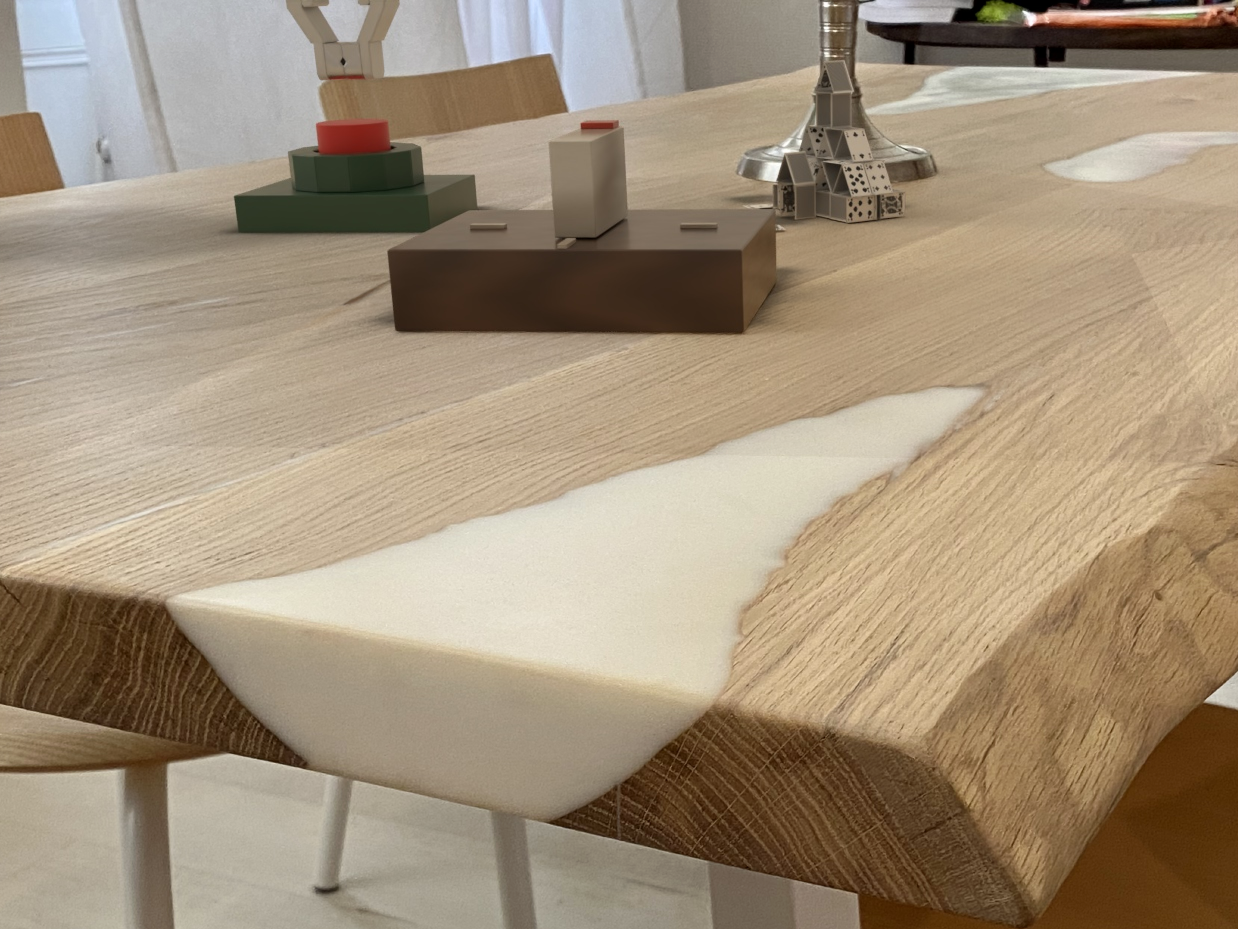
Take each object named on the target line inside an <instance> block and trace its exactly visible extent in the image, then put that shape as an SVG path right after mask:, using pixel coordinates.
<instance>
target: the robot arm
mask: <svg viewBox="0 0 1238 929" xmlns="http://www.w3.org/2000/svg"><path fill="white" fill-rule="evenodd" d="M285 4H286V9H287V11H288V12H289V13H290V15H291V16H292V18H293V20H294V21H295V22H296V24H297V25H298V26H299V29H300V30H301V31H302V33H303V34H304V35H305V37H306V38H307V40H308V42H309V43H310V44H312V45H313V51H314V60H315V67H316V68H315V70H316V75H317V78H318V79H319V80H320V81H347V80H379V79H383V78H384V75H385V63H384V52H383V42H382V41H385V40H386V36H387V34H388V32H389V29H390V28H391V25H392V23H393V20H394V18H395V16H396V14H397V12H398V10H399V7H400V0H357V4H358V5H359V6H369V7H368V10H367V13H366V15H365V18H364V20H363V23H362V26H361V29H360V31H359V34H358V36H357V38H356V41H340V40H339V38H338V37H337V35H336V33H335V32H334V30H333V28H332V27H331V25H330V24H329V22H328V20H327V19H326V17H325V15H324V13H323V12H322V10H321V9H320V7H328V6H329V5H330V0H285Z"/></svg>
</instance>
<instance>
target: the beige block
mask: <svg viewBox="0 0 1238 929" xmlns="http://www.w3.org/2000/svg"><path fill="white" fill-rule="evenodd" d="M579 124H580V128H578V129H576V130H572V131H570V132H568V133H565V134H563V135H561V136H557V137H556V138H553V139H551V140H549V141H548V155H549V156H548V157H549V167H550V168H549V173H550V186H551V202H552V210H553V219H554V235H555V237H556V238H596V237H598V236H599V235H600V234H602V233H603V232H605V231H606V230H608V229H609V228H611V227H612V226H614V225H615V224H616V223H618V222H619V221H621V220H622V219H624V218H625V217H627V216H628V210H629V209H628V188H627V168H626V146H625V145H626V144H625V127H624V126H623V125H620V121H619V119H616V120H615V119H605V120H604V119H603V120H601V119H600V120H598V119H597V120H584V121H582V122H580V123H579Z"/></svg>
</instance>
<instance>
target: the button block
mask: <svg viewBox="0 0 1238 929" xmlns="http://www.w3.org/2000/svg"><path fill="white" fill-rule="evenodd" d="M390 146H391V150H384V151H376V152H363V153H319V149H318V145H311V146H304V147H303V146H302V147H299V148H296V149H292V150H288V151H287V156H288V165H289V174H290V177H289V178H285V179H282V180H279V181H276V182H272V183H270V184H267V185H264V186H263V185H262V186H260V187H257V188H253V189H249V190H247V191H244V192H240V193H238V194H234V196H233V200H234V208H235V217H236V223H237V231H238V234H256V233H257V234H274V233H275V234H294V233H295V234H307V233H308V234H311V233H312V234H315V233H317V234H318V233H319V234H328V233H329V234H330V233H332V234H334V233H335V234H337V233H340V234H341V233H342V234H347V233H348V234H349V233H350V234H351V233H353V234H354V233H355V234H357V233H365V234H370V233H371V234H372V233H374V234H375V233H377V234H378V233H380V234H381V233H382V234H383V233H389V234H392V233H394V234H395V233H396V234H397V233H406V234H407V233H424V232H426V231H428V230H430V229H432V228H434V227H436V226H438V225H440V224H442V223H444V222H446V221H448V220H450V219H452V218H454V217H456V216H458V215H461V214H463V213H465V212H467V211H469V210H478V198H477V186H476V185H477V184H476V175H475V174H425V172H424V162H423V151H422V146H421V145H418V144H416V143H409V142H396V141H390Z"/></svg>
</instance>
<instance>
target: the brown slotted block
mask: <svg viewBox="0 0 1238 929" xmlns="http://www.w3.org/2000/svg"><path fill="white" fill-rule="evenodd" d="M776 220H777V219H776V210H775V209H773V208H751V209H748V208H720V209H719V208H716V209H715V208H711V209H709V208H708V209H707V208H706V209H705V208H704V209H702V208H700V209H699V208H698V209H690V208H687V209H686V208H685V209H681V208H680V209H673V208H672V209H670V208H669V209H668V208H667V209H628V216H627V217H625V218H624V219H622V220H621V221H619V222H618V223H616V224H615V225H614V226H612V227H611V228H609V229H608V230H606V231H605V232H603V233H602V234H600V235H599V236H598V237H596V238H556V237H555V235H554V219H553V209H477V210H469V211H467V212H465V213H463V214H461V215H458V216H456V217H454V218H452V219H450V220H448V221H446V222H444V223H442V224H440V225H438V226H436V227H434V228H432V229H430V230H428V231H426V232H420V233H419V234H417V235H415V236H414V237H411V238H408V239H407V240H405V241H403V242H401V243H399V244H397V245H395V246H393V247H390V248H389V249H387V251H386V252H387V253H386V254H387V263H388V274H389V284H390V291H391V292H390V294H391V302H392V313H393V314H392V315H393V323H394V330H395V331H396V332H481V333H482V332H485V333H486V332H489V333H492V332H493V333H494V332H495V333H497V332H498V333H503V332H504V333H505V332H506V333H633V334H635V333H636V334H637V333H643V334H644V333H645V334H647V333H649V334H650V333H651V334H652V333H653V334H655V333H656V334H743V333H745V332H746V330H747V328H748V326H749V325H750V324H751V322H752V320H753V318H754V317H755V315H756V314H757V312H758V311H759V309H760V308H761V306H762V304H763V303H764V301H765V300H766V298H767V297H768V295H770V292H771V290H772V289H773V287H774V286H775V285H776V283H777V281H778V279H777V278H778V274H777V272H778V271H777V230H776V225H777V224H776V223H777V221H776Z"/></svg>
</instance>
